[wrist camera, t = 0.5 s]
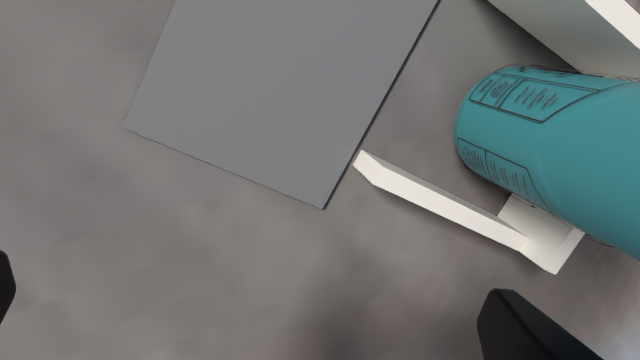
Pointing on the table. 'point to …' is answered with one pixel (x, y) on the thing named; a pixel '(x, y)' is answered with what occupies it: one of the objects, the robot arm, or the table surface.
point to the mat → (274, 84)
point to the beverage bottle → (559, 146)
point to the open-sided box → (584, 55)
